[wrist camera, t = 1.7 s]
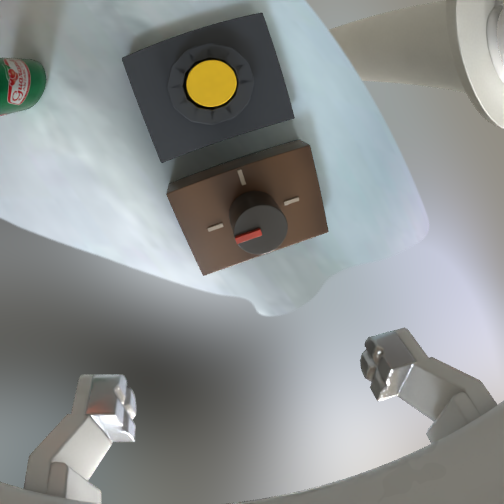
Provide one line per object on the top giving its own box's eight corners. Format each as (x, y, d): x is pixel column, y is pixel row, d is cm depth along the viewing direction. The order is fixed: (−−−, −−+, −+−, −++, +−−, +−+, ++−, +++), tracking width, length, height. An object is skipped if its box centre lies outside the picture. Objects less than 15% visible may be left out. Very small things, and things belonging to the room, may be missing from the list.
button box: (257, 17, 22) (267, 7, 18) (287, 115, 27) (301, 120, 24) (126, 60, 22) (116, 56, 18) (163, 157, 27) (159, 168, 24)
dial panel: (299, 139, 28) (310, 145, 26) (318, 219, 33) (329, 232, 30) (168, 183, 28) (165, 194, 26) (202, 260, 33) (203, 277, 30)
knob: (270, 183, 27) (281, 198, 24) (282, 226, 29) (294, 245, 26) (222, 200, 27) (226, 217, 24) (237, 242, 29) (243, 263, 26)
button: (226, 56, 20) (228, 53, 19) (239, 97, 22) (242, 98, 21) (180, 70, 20) (179, 69, 19) (195, 112, 22) (195, 113, 21)
